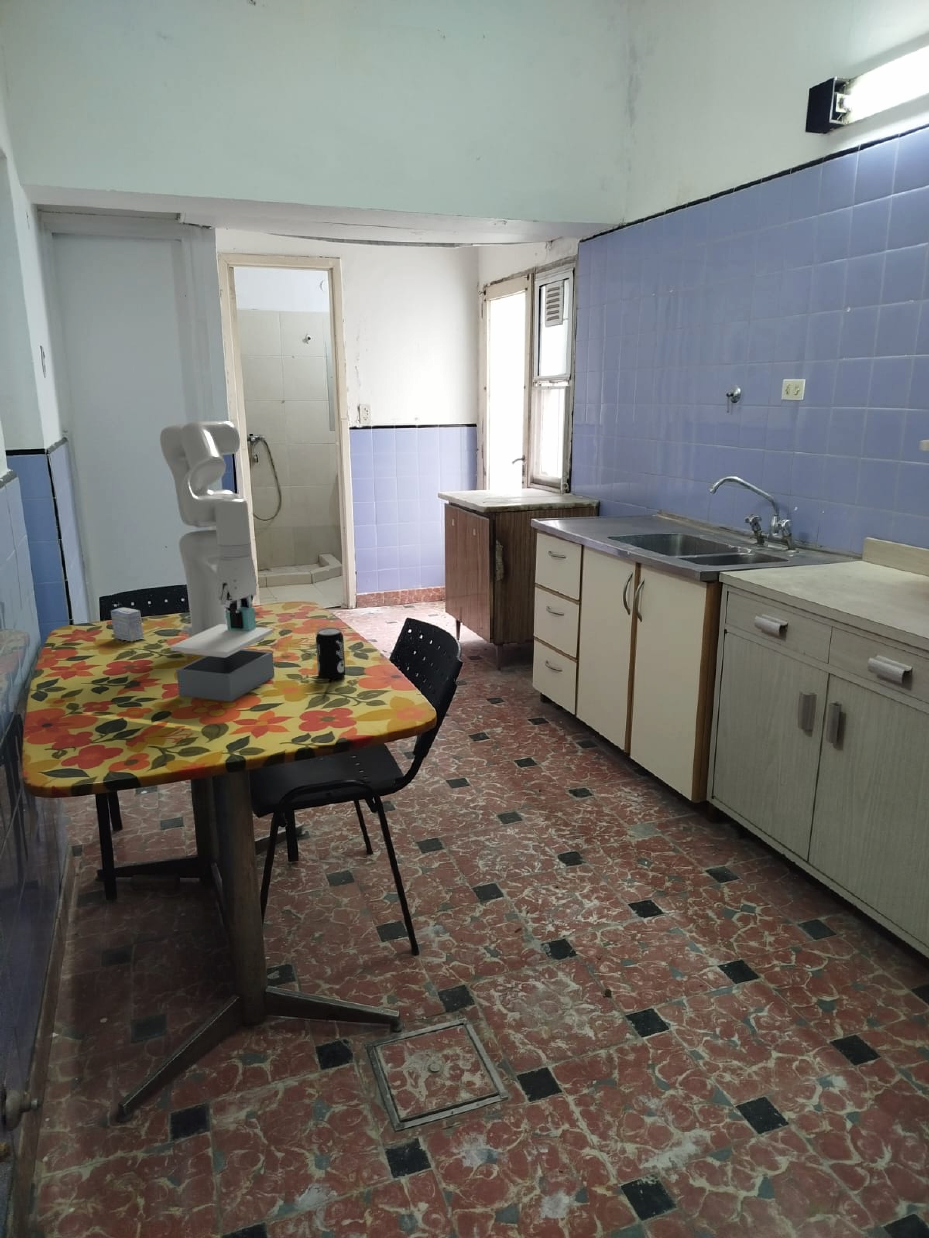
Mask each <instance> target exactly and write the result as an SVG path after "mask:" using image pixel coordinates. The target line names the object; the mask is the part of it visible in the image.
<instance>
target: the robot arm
mask: <svg viewBox="0 0 929 1238" xmlns="http://www.w3.org/2000/svg"><path fill="white" fill-rule="evenodd" d="M159 441H160V448H161V452H162V454H163V457H164V460H165V461H166V464H167V466H168V467H169V470H170V472H171V474H172V477H173V481H174V486H175V487H174V488H175V492H176V494H175V495H176V498H177V499H176V500H177V505H178V511H179V517H180V519H181V521H182V523H183V524H184V525H186V526H190V527H194V528H211V527H215V529H207V530H206V529H205V530H204V529H203V530H195V531H190V532H187V533H185V534H184V535H182V536H181V538H180V540H179V542H178V546H179V548H178V549H179V553H180V557H181V560H182V561H181V562H182V563H183V564H182V565H183V568H184V574H185V579H186V580H185V581H186V590H187V598H188V608H189V617H190V625H187V624H185V625H184V626H183V629H181V633H182V634H183V635H188V638H190V637H192V636H194V635H197V634H199V633H201V632H203V631H206V630H208V629H210V628H213V627H215V626H217V625H219V624H225V625H227V618H226V609H228V612H229V613H230V624H231V628H236V629H242V628H243V617H242V612H240V607H248V608H253V600H254V597H255V596H256V595H257V576H256V569H255V563H254V559H253V555H252V554H253V552H252V542H251V529H250V516H249V506H248V505H249V504H248V501H247V500H246V499H245V498H244V497H243V496H242V495H241V494H239V493H234V492H233V491H232V490H230V489H211V490H210V488H209V486H210V485H211V484H213V483H215V482H218V481H219V480H220V479H222V478H223V476H225V473H226V469H227V464H226V461H225V459H224V456H228V455H233V454H234V455H235V454H236V453H237V452H238V451H239V449H240V446H241V445H240V444H241V438H240V433H239V430H238V429H237V426H236V425H235V424H234V423H233V422H231V421H229V420H202V421H201V420H200V421H199V420H197V421H192V422H188V423H186V424H185V423H184V424H183V423H182V424H174V425H170V426H167V427H165V428H163V429H162V430H161V432H160V435H159ZM215 565H216V570H214V569H213V567H212V566H215Z"/></svg>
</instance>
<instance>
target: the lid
mask: <svg viewBox="0 0 929 1238" xmlns="http://www.w3.org/2000/svg"><path fill="white" fill-rule="evenodd" d="M255 611H256V610H255V607H252V608H248V607H240V612H242V617H243V628H242V629H236V628H231V624H230V613H229V612H228V609H227V608H225V612H226V623H227V625H225V624H219V625H217V626H215V627H213V628H210V629H208V630H206V631H203V632H201V633H199V634H197V635H194V636H192V637H190V638H189V637H188V638H185V639H183V640H181V641H179V642H177V643H173V644H172V645H169V648H170V651H171V652H181V653H182V654H185V655H186V654H187V655H195V656H196V655H197V656H214V657H223V658H226V657H228V656H230V655H232V654H234V653H236V652H238V651H240V650H242V649H246V648H247V647H250V646H252V645H253V644H255V643H258V642H259V641H262V640H263V639H264V638H266V637H268V636H270V635H273V634H274V628H268V627H267V628H266V627H257V624H256V623H257V622H256V612H255Z"/></svg>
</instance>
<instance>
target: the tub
mask: <svg viewBox="0 0 929 1238" xmlns="http://www.w3.org/2000/svg"><path fill="white" fill-rule="evenodd" d="M175 671H176V680H177V688H178V689H177V690H178V695H179V696H180V697H187V698H195V699H197V698H198V699H204V700H213V701H221V702H228V703H229V702H230V703H232V702H233V701H236V700H237V699H239V698H240V697H242V696H244V695H246V694H247V693H249V692H251V691H252V690H255V689H257V687H259V686H261V685H262V684H264V683H266V682H268V681H269V680H271V679H273V678H275V676H276V675H275V666H274V652H273V651H267V650H253V649H246V648H244V649H242V650H240V651H238V652H236V653H234V654H232V655H230V656H228V657H226V658H223V657H214V656H205V655H203V657H200V658H198V659H196V660H194V661H192V662H190V663H188V664H185V665H183V666H181V667H178V668H177V669H176V670H175Z"/></svg>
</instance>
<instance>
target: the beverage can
mask: <svg viewBox="0 0 929 1238" xmlns="http://www.w3.org/2000/svg"><path fill="white" fill-rule="evenodd" d="M316 633H317V635H316V636H315V648H316V660H317V661H316V663H317V664H316V665H317V677H318V678H319V679H322V680H328V681H333V682H337V681H341V680H343V679H344V677H345V676H346V662H345V661H346V660H345V659H346V658H345V644H344V643H345V642H344V641H345V640H344V634H343V633H342V629H340V628H338V627H324V628H320V629H317V631H316Z"/></svg>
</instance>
